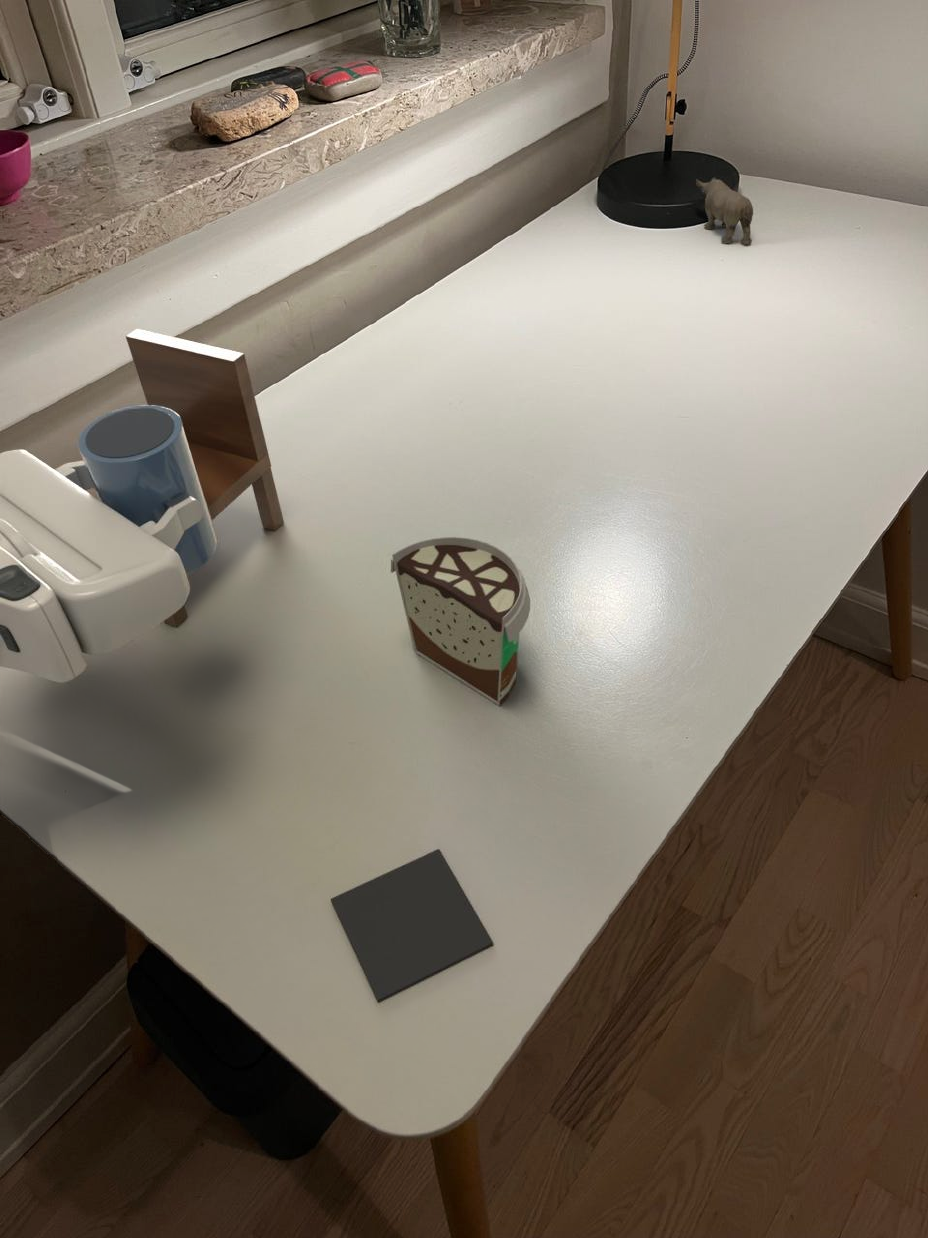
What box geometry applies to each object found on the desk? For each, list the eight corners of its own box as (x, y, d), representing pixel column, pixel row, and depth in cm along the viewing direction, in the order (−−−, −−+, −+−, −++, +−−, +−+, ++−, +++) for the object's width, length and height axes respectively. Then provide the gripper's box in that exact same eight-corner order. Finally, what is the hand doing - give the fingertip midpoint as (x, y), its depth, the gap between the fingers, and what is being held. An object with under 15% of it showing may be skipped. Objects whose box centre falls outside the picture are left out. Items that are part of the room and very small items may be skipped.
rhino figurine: (707, 206, 145) (711, 162, 141) (757, 243, 135) (763, 197, 131) (681, 212, 144) (684, 168, 140) (729, 250, 134) (734, 204, 130)
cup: (121, 588, 72) (74, 469, 65) (124, 530, 77) (80, 413, 70) (219, 570, 72) (182, 450, 66) (215, 513, 77) (180, 396, 70)
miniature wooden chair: (177, 628, 89) (113, 454, 76) (75, 590, 93) (0, 420, 81) (285, 522, 99) (244, 353, 86) (188, 492, 103) (136, 328, 91)
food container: (564, 670, 82) (564, 576, 75) (514, 716, 79) (508, 621, 72) (452, 604, 88) (443, 512, 82) (401, 644, 85) (387, 551, 79)
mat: (378, 1003, 63) (377, 1000, 63) (331, 901, 68) (330, 898, 68) (493, 945, 65) (493, 942, 65) (439, 851, 71) (438, 848, 70)
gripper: (-77, 559, 72) (92, 466, 79) (81, 697, 61) (261, 575, 68) (-119, 486, 67) (65, 395, 74) (44, 620, 57) (240, 499, 64)
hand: (160, 482), depth 71 cm, fingers closed on cup, 7 cm apart
